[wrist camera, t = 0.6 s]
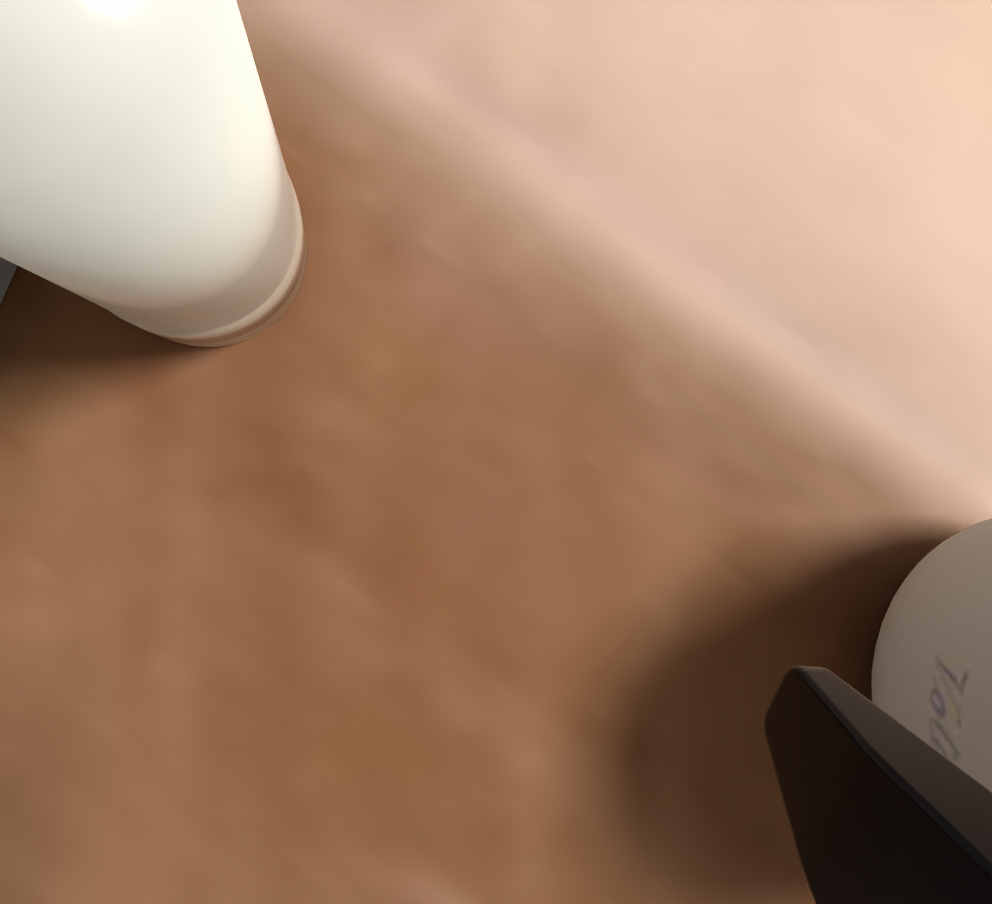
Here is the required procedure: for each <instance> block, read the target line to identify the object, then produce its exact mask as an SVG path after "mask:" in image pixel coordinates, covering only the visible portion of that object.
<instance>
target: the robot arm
mask: <svg viewBox="0 0 992 904" xmlns="http://www.w3.org/2000/svg"><path fill="white" fill-rule="evenodd" d="M764 727H765V735H766V739H767V743H768V746H769V750H770V754H771V757H772V761H773V765H774V768H775V772H776V775H777V779H778V783H779V786H780V790H781V794H782V797H783V801H784V805H785V808H786V812H787V815H788V819H789V823H790V826H791V830H792V834H793V837H794V841H795V844H796V848H797V851H798V854H799V857H800V861H801V864H802V867H803V869H804V872H805V875H806V878H807V881H808V883H809V886H810V889H811V891H812V894H813V897H814V899H815V902H816V904H992V792H991V791H990V790H988V789H987V788H986V787H984V786H983V785H982V784H980V783H979V782H978V781H977V780H975V779H974V778H973V777H971V776H970V775H969V774H967V773H966V772H965V771H963V770H962V769H961V768H959V767H958V766H957V765H955V764H954V763H953V762H951V761H950V760H949V759H947V758H946V757H945V756H943V755H942V754H941V753H939V752H938V751H937V750H935V749H934V748H933V747H931V746H930V745H929V744H927V743H926V742H925V741H923V740H922V739H921V738H919V737H918V736H917V735H915V734H914V733H913V732H911V731H910V730H909V729H907V728H906V727H905V726H903V725H902V724H901V723H899V722H898V721H897V720H895V719H894V718H893V717H891V716H890V715H889V714H887V713H886V712H885V711H883V710H882V709H881V708H879V707H878V706H877V705H875V704H874V703H873V702H871V701H870V700H869V699H867V698H866V697H865V696H863V695H862V694H861V693H859V692H858V691H857V690H855V689H854V688H853V687H851V686H850V685H849V684H847V683H846V682H845V681H843V680H842V679H841V678H839V677H838V676H837V675H835V674H834V673H833V672H831V671H830V670H828V669H826V668H823V667H814V666H793V667H791V668H790V669H788V670H787V671H786V672H785V674H784V676H783V678H782V680H781V682H780V684H779V687H778V689H777V691H776V693H775V695H774V697H773V699H772V701H771V703H770V706H769V708H768V710H767V712H766V716H765V725H764Z"/></svg>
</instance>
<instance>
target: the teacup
mask: <svg viewBox="0 0 992 904" xmlns="http://www.w3.org/2000/svg"><path fill="white" fill-rule="evenodd" d="M871 687H872V702H873V703H874V704H875V705H877V706H878V707H879V708H881V709H882V710H883V711H885V712H886V713H887V714H889V715H890V716H891V717H893V718H894V719H895V720H897V721H898V722H899V723H901V724H902V725H903V726H905V727H906V728H907V729H909V730H910V731H911V732H913V733H914V734H915V735H917V736H918V737H919V738H921V739H922V740H923V741H925V742H926V743H927V744H929V745H930V746H931V747H933V748H934V749H935V750H937V751H938V752H939V753H941V754H942V755H943V756H945V757H946V758H947V759H949V760H950V761H951V762H953V763H954V764H955V765H957V766H958V767H959V768H961V769H962V770H963V771H965V772H966V773H967V774H969V775H970V776H971V777H973V778H974V779H975V780H977V781H978V782H979V783H980V784H982V785H983V786H984V787H986V788H987V789H988V790H990V791H991V792H992V519H989V520H986V521H983V522H980V523H977V524H974V525H972V526H970V527H968V528H966V529H964V530H962V531H960V532H958V533H957V534H955V535H953V536H952V537H950V538H948V539H947V540H945V541H943V542H942V543H941V544H939V545H938V546H937V547H936V548H934V549H933V550H932V551H931V552H929V553H928V554H927V555H926V556H925V557H924V558H923V559H922V560H921V561H920V562H919V563H918V564H917V565H916V566H915V568H914V569H913V570H912V571H911V573H910V574H909V575H908V576H907V577H906V579H905V580H904V581H903V583H902V585H901V586H900V588H899V589H898V591H897V592H896V594H895V596H894V597H893V599H892V602H891V604H890V606H889V608H888V610H887V613H886V615H885V617H884V620H883V622H882V625H881V628H880V632H879V636H878V639H877V643H876V647H875V653H874V659H873V666H872V683H871Z"/></svg>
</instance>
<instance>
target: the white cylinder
mask: <svg viewBox="0 0 992 904" xmlns="http://www.w3.org/2000/svg"><path fill="white" fill-rule="evenodd" d="M0 257H2V258H4V259H6V260H8V261H10V262H12V263H14V264H16V265H18V266H20V267H22V268H24V269H26V270H28V271H30V272H32V273H34V274H36V275H38V276H40V277H42V278H44V279H46V280H48V281H51V282H53V283H55V284H57V285H59V286H61V287H63V288H65V289H67V290H69V291H71V292H73V293H75V294H77V295H79V296H81V297H83V298H85V299H87V300H89V301H91V302H93V303H95V304H97V305H99V306H101V307H103V308H105V309H107V310H108V311H110V312H111V313H113V314H115V315H116V316H118V317H119V318H121V319H123V320H125V321H127V322H129V323H131V324H133V325H135V326H137V327H139V328H142V329H144V330H146V331H148V332H150V333H152V334H154V335H157V336H160V337H163V338H166V339H169V340H172V341H175V342H178V343H181V344H186V345H191V346H199V347H221V346H227V345H232V344H236V343H239V342H243V341H246V340H248V339H250V338H253V337H255V336H257V335H259V334H260V333H262V332H264V331H265V330H267V329H268V328H270V327H271V326H272V325H273V324H274V323H276V322H277V321H278V320H279V319H280V318H281V317H282V316H283V315H284V314H285V312H286V311H287V310H288V309H289V307H290V306H291V304H292V303H293V301H294V300H295V298H296V296H297V294H298V292H299V290H300V287H301V284H302V282H303V279H304V274H305V269H306V262H307V245H306V237H305V228H304V223H303V218H302V214H301V210H300V207H299V203H298V200H297V196H296V193H295V190H294V188H293V185H292V182H291V179H290V177H289V175H288V173H287V170H286V167H285V164H284V160H283V157H282V153H281V150H280V147H279V143H278V140H277V137H276V133H275V130H274V126H273V123H272V120H271V116H270V113H269V110H268V106H267V103H266V99H265V96H264V93H263V89H262V86H261V83H260V79H259V76H258V73H257V69H256V66H255V62H254V59H253V56H252V52H251V49H250V46H249V42H248V39H247V35H246V32H245V29H244V25H243V22H242V19H241V15H240V12H239V9H238V5H237V2H236V0H0Z"/></svg>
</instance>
